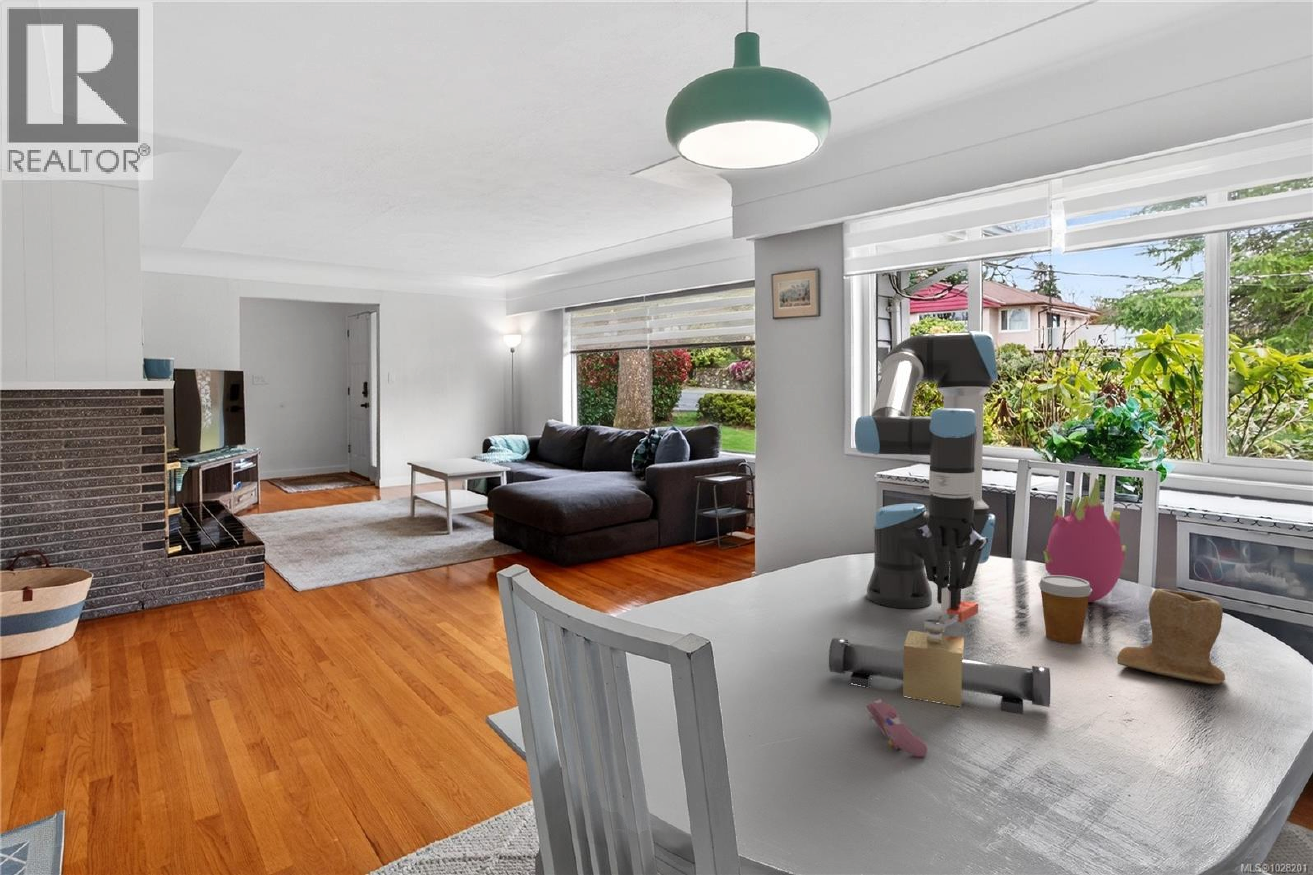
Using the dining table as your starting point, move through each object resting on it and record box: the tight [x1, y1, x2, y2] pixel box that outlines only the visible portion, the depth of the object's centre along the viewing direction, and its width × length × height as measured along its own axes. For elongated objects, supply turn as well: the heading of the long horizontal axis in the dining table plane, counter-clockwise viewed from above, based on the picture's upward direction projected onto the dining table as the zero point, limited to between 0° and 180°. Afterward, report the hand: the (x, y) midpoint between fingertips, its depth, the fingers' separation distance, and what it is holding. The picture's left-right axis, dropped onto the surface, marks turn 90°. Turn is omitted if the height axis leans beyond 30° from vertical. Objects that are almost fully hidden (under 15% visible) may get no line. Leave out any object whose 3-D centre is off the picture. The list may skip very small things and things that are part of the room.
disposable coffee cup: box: [1038, 574, 1092, 644], centre depth 144 cm, size 10×10×12 cm
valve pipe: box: [828, 630, 1051, 715], centre depth 119 cm, size 8×34×11 cm, turn 64°
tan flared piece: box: [1116, 588, 1226, 685], centre depth 126 cm, size 15×12×15 cm
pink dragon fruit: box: [1043, 478, 1127, 603], centre depth 166 cm, size 18×14×30 cm
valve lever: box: [923, 600, 979, 633], centre depth 123 cm, size 16×3×2 cm, turn 133°
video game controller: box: [866, 698, 928, 758], centre depth 103 cm, size 10×5×7 cm, turn 6°
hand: (948, 622), depth 127 cm, fingers closed
